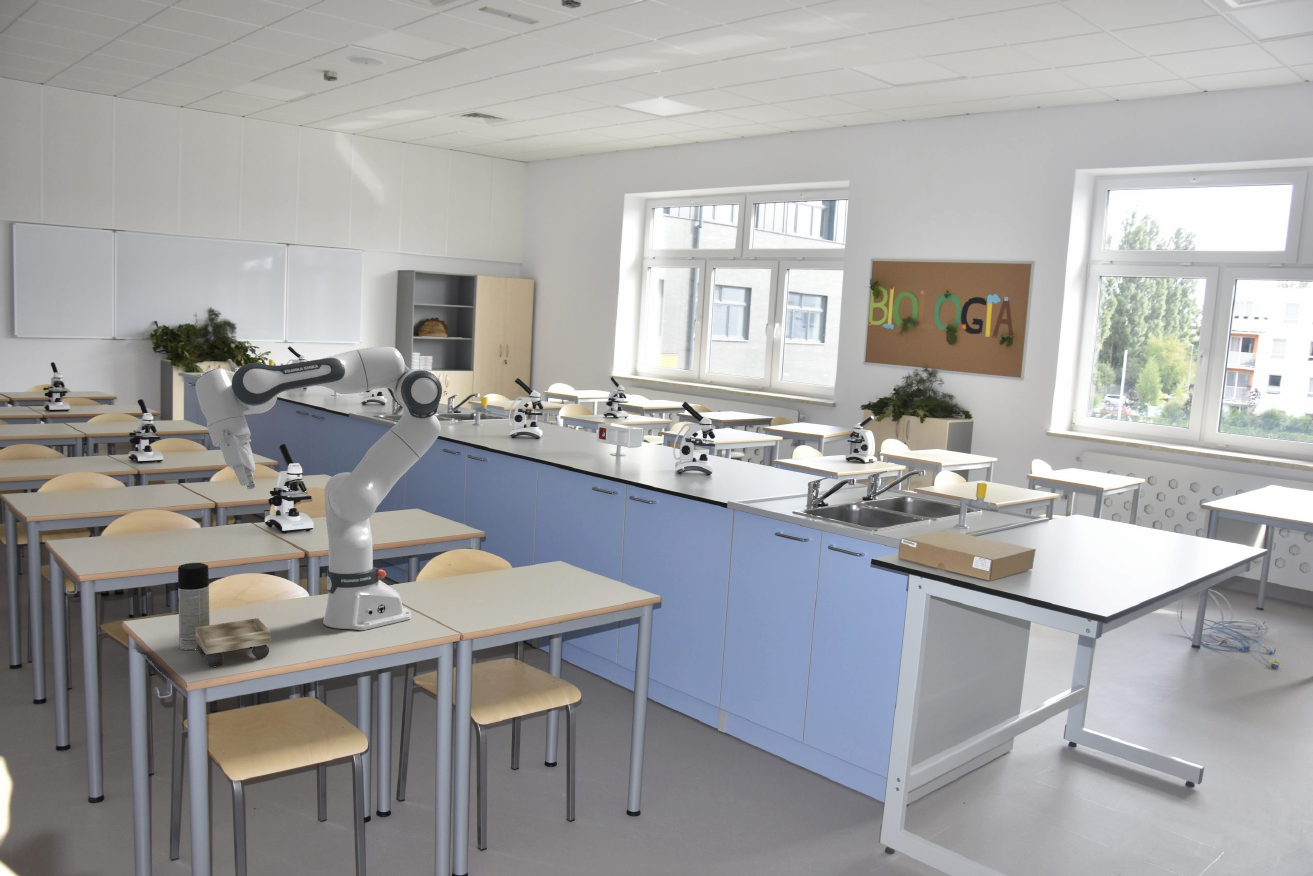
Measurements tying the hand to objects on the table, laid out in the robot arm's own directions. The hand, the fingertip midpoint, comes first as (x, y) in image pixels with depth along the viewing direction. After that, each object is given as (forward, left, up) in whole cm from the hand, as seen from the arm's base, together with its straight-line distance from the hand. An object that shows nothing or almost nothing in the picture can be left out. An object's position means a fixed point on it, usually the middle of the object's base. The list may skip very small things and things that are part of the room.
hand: (248, 487), depth 232 cm
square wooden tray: (+7, +11, -38) cm, 40 cm away
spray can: (+13, -1, -38) cm, 40 cm away
